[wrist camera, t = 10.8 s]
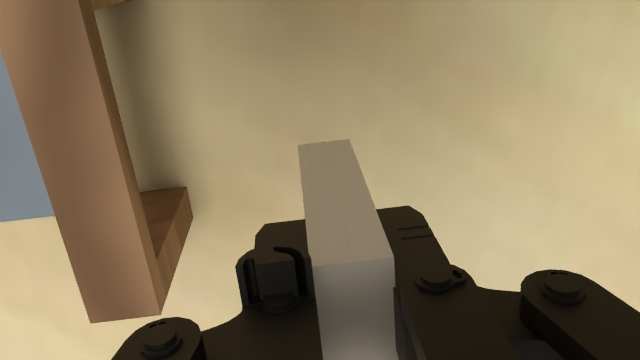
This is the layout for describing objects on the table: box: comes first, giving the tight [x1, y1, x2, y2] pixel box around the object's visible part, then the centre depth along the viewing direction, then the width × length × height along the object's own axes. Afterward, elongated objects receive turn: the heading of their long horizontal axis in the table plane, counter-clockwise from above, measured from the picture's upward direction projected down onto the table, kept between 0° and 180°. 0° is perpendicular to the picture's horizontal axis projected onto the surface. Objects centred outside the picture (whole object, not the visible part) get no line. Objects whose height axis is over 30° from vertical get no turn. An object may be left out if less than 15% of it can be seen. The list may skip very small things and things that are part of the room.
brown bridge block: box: [0, 0, 193, 323], centre depth 24 cm, size 3×14×9 cm, turn 6°
